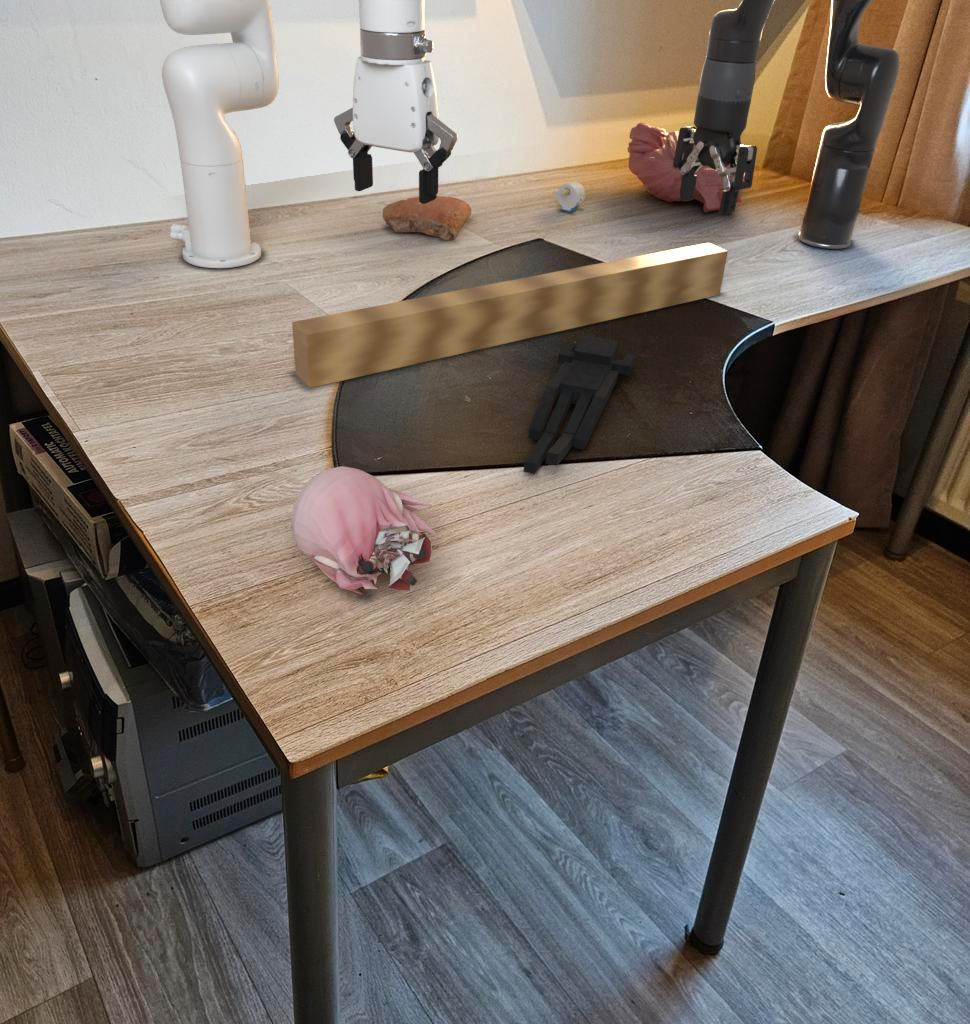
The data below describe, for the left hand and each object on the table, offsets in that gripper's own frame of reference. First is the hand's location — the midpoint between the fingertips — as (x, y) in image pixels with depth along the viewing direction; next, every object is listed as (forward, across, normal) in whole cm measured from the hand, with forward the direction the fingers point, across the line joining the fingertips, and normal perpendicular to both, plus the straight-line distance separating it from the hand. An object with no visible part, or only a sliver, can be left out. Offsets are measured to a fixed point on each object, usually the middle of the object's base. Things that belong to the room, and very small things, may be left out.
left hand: (395, 194), depth 122 cm
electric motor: (+20, +7, -71) cm, 74 cm away
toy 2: (+21, -30, +7) cm, 37 cm away
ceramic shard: (+20, +24, -46) cm, 56 cm away
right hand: (+7, -28, -42) cm, 51 cm away
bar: (+21, -13, -15) cm, 29 cm away
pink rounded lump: (+21, -26, +45) cm, 56 cm away
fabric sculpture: (+20, -8, -100) cm, 102 cm away
